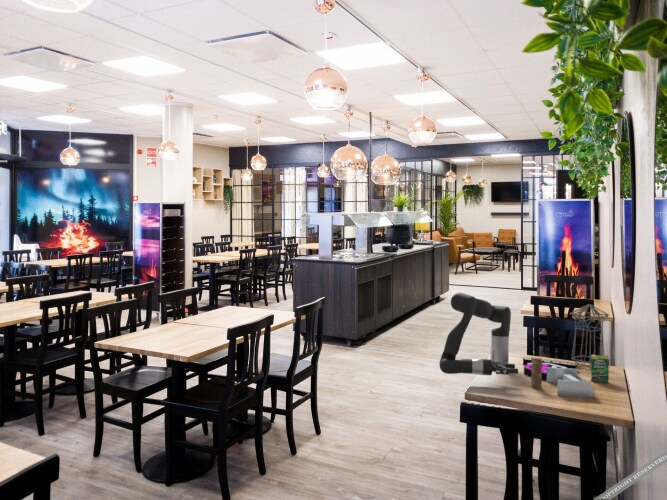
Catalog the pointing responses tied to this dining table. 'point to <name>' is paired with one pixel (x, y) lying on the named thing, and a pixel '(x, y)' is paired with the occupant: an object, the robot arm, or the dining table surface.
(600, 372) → the coffee box
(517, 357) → the dining table surface
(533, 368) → the walnut board
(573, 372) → the rack
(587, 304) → the geometric lantern
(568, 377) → the offcut stack
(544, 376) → the sign
